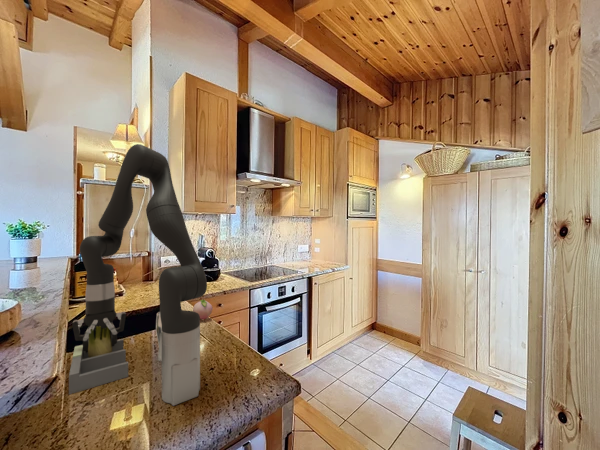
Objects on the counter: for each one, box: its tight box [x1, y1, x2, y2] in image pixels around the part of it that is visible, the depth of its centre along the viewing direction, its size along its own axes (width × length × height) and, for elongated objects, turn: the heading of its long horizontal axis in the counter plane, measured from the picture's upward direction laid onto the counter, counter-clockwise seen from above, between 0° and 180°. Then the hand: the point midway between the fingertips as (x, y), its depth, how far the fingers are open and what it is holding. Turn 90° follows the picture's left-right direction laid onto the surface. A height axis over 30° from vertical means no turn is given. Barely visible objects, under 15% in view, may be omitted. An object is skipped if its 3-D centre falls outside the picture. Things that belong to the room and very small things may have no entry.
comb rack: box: [68, 338, 129, 395], centre depth 80 cm, size 21×13×5 cm, turn 38°
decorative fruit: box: [192, 298, 213, 321], centre depth 121 cm, size 9×8×10 cm
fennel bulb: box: [88, 326, 112, 358], centre depth 83 cm, size 6×5×12 cm
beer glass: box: [155, 311, 162, 362], centre depth 87 cm, size 7×7×15 cm
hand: (100, 348), depth 84 cm, fingers closed on fennel bulb, 6 cm apart
